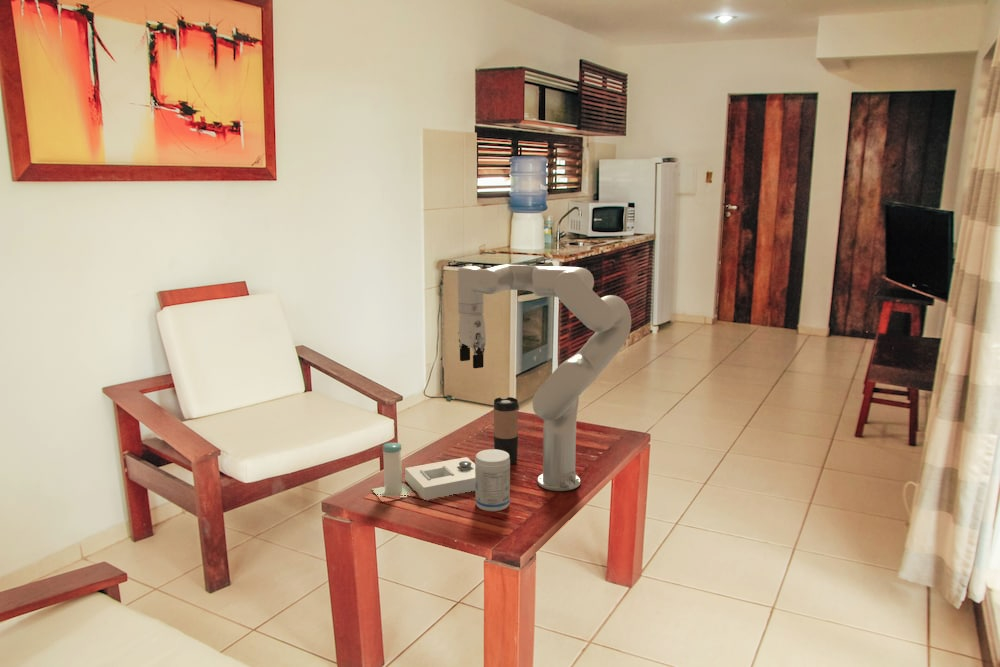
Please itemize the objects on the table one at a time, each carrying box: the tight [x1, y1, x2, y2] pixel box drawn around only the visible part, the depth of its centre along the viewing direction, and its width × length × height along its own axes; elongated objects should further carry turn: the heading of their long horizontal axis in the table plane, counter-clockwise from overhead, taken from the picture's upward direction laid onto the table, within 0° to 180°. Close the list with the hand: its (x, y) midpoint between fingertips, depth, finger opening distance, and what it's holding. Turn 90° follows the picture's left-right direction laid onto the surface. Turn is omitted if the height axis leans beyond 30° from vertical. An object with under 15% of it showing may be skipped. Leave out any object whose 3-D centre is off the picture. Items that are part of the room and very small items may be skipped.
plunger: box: [459, 461, 471, 471], centre depth 226 cm, size 4×4×5 cm
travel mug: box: [493, 396, 519, 465], centre depth 240 cm, size 8×8×20 cm
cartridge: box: [382, 442, 403, 496], centre depth 216 cm, size 5×5×14 cm
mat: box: [371, 482, 414, 497], centre depth 218 cm, size 10×10×1 cm
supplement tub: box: [474, 448, 511, 512], centre depth 208 cm, size 10×10×15 cm
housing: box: [404, 456, 475, 501], centre depth 223 cm, size 16×20×4 cm
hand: (471, 364), depth 229 cm, fingers open, 9 cm apart
